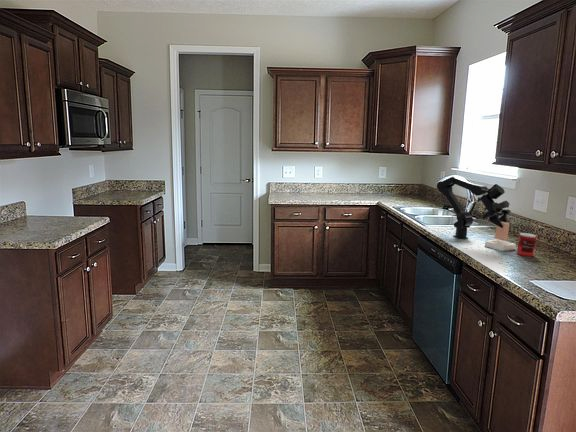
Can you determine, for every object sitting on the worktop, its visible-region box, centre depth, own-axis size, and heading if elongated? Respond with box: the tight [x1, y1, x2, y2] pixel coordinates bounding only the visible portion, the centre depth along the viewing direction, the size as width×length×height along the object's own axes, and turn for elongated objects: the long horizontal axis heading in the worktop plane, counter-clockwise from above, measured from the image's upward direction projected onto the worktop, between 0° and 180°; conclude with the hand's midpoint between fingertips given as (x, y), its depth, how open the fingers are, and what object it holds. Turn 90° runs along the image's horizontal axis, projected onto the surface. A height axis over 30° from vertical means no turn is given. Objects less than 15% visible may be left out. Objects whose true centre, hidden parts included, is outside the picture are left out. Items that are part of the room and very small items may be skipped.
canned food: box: [516, 232, 537, 258], centre depth 221 cm, size 8×8×11 cm
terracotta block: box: [494, 221, 511, 241], centre depth 232 cm, size 4×4×10 cm
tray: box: [484, 239, 517, 252], centre depth 234 cm, size 11×11×3 cm
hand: (505, 227), depth 231 cm, fingers closed on terracotta block, 4 cm apart
